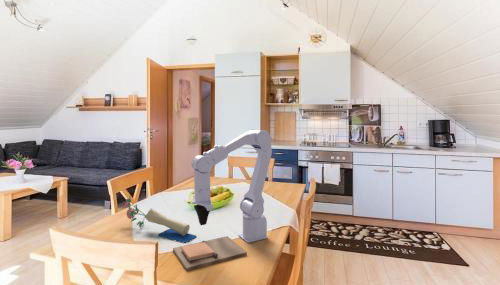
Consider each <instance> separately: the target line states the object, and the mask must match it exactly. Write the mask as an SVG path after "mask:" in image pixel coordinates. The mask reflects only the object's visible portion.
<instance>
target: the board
mask: <svg viewBox="0 0 500 285" xmlns="http://www.w3.org/2000/svg"><path fill="white" fill-rule="evenodd" d="M203 242H205V243H206V244H207V245H208V246H209V247H210V248H211V249H212V250H213V251H214V253H213V256H208V257H203V258H199V259H194V260H190V261H189V259H188V258H187V257H186V255H185V254H184V253H183V251H182V250H181V247H182V246H183V245H182V246H181V245H180V246H177V247H172V252H173V253H174V254H175V256H176V258H177V259H178V261H179V262H180V264H182V267H183V268H184V269H185V271H186V272H189V271H191V270H197V269H199V268H203V267H206V266H210V265H214V264H217V263H221V262H225V261H228V260H229V261H230V260H233V259H236V258H240V257H244V256H247V255H248V254H247V253H248V252H247V251H246V250H245V249H243V248H242V246H240V245H239V244H238V243H236V242H235V241H234V240H232V239H231V237H229V236H227V235H226V236H222V237H218V238H213V239H209V240H202V241H200V242H199V241H198V242H195V243H190V244H186V245H184V246H188V245H193V244H198V243H203Z"/></svg>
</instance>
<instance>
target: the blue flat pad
mask: <svg viewBox="0 0 500 285" xmlns="http://www.w3.org/2000/svg"><path fill="white" fill-rule="evenodd" d="M158 237H160V238H162V237H163V239H166V238H167V240H170V239H171V240H170V241H174V240H176V241H175V242H178V241H180V242H179V243H182V242H184V243H183V244H187V243H186V242H188V243H189V242H191V241H193V240H194V239H196V238H197V235H195V234H191V233H189V232H188V233H187V234H186V235H184V236H182V235H181V234H179V233H177V232H175V231H174V230H172V229H170V228H168V229H165V230H164V231H161V232H160V233H158ZM192 239H193V240H192ZM190 240H191V241H190Z"/></svg>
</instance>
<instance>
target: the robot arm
mask: <svg viewBox="0 0 500 285" xmlns="http://www.w3.org/2000/svg"><path fill="white" fill-rule="evenodd" d="M272 140H273V137H272V136H271V135H270V132H268V130H264V129H262V130H261V129H253V128H252V129H249V130H248V131H245V132H244V133H242V134H240V135H239V136H237V137H236V138H234V139H233V140H231V141H229V142H228V143H226V144H225V145H221V144H219V145H217V144H215V145H213V148H211V149H210V150H208V151H204V152H203V153H202V155H201V154H199V155H196V156H194V158H193V159H192V162H191V166H192V168H193V171H194V172H193V174H194V176H193V183H194V185H193V186H194V187H193V188H194V195H193V196H192V197H193V198H192V199H193V200H191V204H193V208H194V210H195V212H196V215H197V219H198V223H199V225H200V226H205V225H207V222H208V220H209V219H208V218H209V215H210V212H211V211H213V210H214V204H213V203H212V199H211V170H212V168H213V167H214V166H216V165H218V164H219V163H221V162H223V161H224V160H227V159H228V156H229V154H230V153H232V152H234V151H236V150H237V149H240V148H242V147H243V146H246V145H250V146H251V147H253V149H254V150H255V152H256V153H257V157H256V159H255V160H256V161H255V164H254V168H253V173H252V177H251V180H250V185H249V188H248V191H246V193H244V195H243V199H241V201H240V204H239V208H240V210H241V211H242V233H240V234H238V237H239V238H241V239H242V240H243V241H245V242H246V243H253V242H256V241H261V240H264V239H268V236H267V233H268V232H267V230H268V226H267V225H268V222H267V218H266V216H265V215H264V211H265V207H264V206H265V205H264V204H265V200H264V197H263V195H262V194H263V190H264V186H265V182H266V178H267V174H268V170H269V168H270V166H269V165H270V161H271V158H272V154H273V149H272V148H273V147H272Z"/></svg>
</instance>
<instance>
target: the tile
mask: <svg viewBox="0 0 500 285" xmlns="http://www.w3.org/2000/svg"><path fill="white" fill-rule="evenodd" d="M197 243H198V244H194V243H192V244H193V245H190V244H187V245H188V246H185V245H182V247H181V250H182V251H183V253H184V254H185V255H186V257H187V258H188V259H189V261H190V260H194V259H199V258H203V257H208V256H213V253H214V251H213V250H212V249H211V248H210V247H209V246H208V245H207V244H206V243H205V242H203V243H199V242H197Z"/></svg>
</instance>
